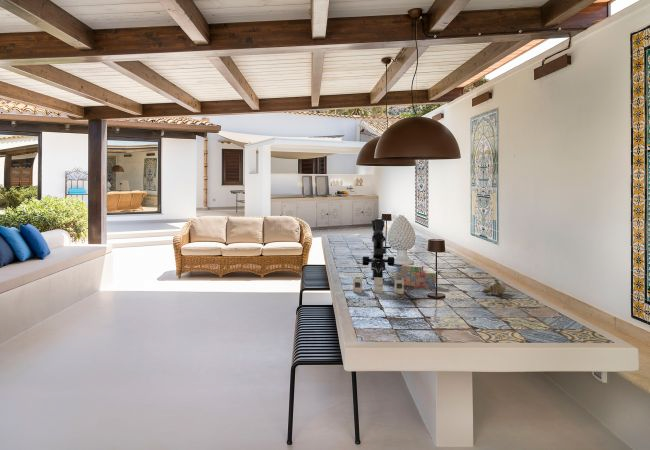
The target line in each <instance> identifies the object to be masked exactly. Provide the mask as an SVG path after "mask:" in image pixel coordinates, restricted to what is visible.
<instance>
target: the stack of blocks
mask: <svg viewBox="0 0 650 450" xmlns="http://www.w3.org/2000/svg"><path fill="white" fill-rule="evenodd" d="M400 267H401V269H400V274H401V275H400V277H401V278H403V279H404V286H409V287H417V286H418V287H419V288H426V289H427V288H428V289H436V288H435V283H436V272H437V278H438V277H439V275H438V271H434V270H433V271H431V270H424V265H418V264H407V263H406V264H405V263H404V264H402V265H400Z"/></svg>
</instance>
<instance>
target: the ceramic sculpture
mask: <svg viewBox="0 0 650 450" xmlns="http://www.w3.org/2000/svg"><path fill="white" fill-rule="evenodd" d="M505 291H506V286H505V283H504V282H503V281H502V279H500V280H497V279H494V280H493V281H492V282H490V283H489V284H488V287H485V288H484V289H483V290H481V293H483V294H486V295H487V294H489V293H490V294H491V295H494V296H497V297H498V296H501V295H502V294H503V293H504V292H505Z"/></svg>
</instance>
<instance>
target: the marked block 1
mask: <svg viewBox="0 0 650 450" xmlns="http://www.w3.org/2000/svg"><path fill="white" fill-rule="evenodd" d="M352 285H353V286H352V293H360V294H361V293H362V292H363V277H361V276H360V277H358V276H356V277H355V276H354V277H352Z"/></svg>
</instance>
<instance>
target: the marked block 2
mask: <svg viewBox="0 0 650 450" xmlns="http://www.w3.org/2000/svg"><path fill="white" fill-rule="evenodd" d="M404 291H405V285H404V279H403V278H400V277H394V294H395V295H396V294H398V295H402V294H404V293H405V292H404Z"/></svg>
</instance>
